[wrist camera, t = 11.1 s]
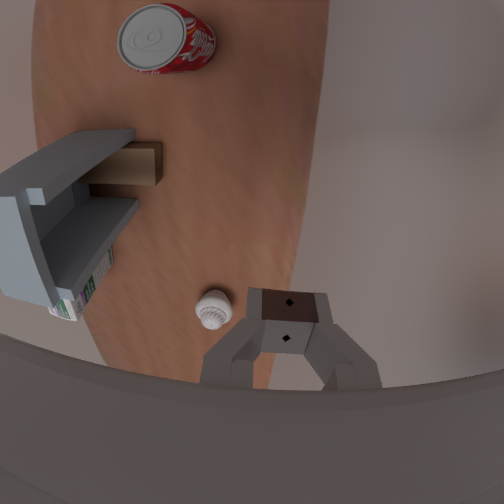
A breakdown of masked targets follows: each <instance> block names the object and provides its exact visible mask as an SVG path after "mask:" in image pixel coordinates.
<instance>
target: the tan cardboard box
mask: <svg viewBox="0 0 504 504" xmlns="http://www.w3.org/2000/svg"><path fill="white" fill-rule="evenodd" d="M162 178H163V157H162V142H129V143H128V144H126V145H124V146H123V147H121V148H120V149H118V150H117V151H116V152H114V153H113V154H111V155H110V156H108V157H107V158H105V159H104V160H103V161H101V162H100V163H98V164H97V165H96V166H94V167H93V168H92V169H90V170H89V171H87V172H86V173H85V174H83V175H82V176H81V177H80V178H79V183H87V184H125V185H148V186H156V185H157V184H158V182H159V181H160V180H161V179H162Z"/></svg>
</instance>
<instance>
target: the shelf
mask: <svg viewBox="0 0 504 504" xmlns="http://www.w3.org/2000/svg"><path fill="white" fill-rule="evenodd" d="M134 139H135V136H134V128H130V129H108V130H92V131H80V132H74V133H71V134H69V135H67V136H65V137H63V138H61V139H59V140H57V141H56V142H54V143H52V144H50V145H48V146H46V147H44V148H42V149H41V150H39V151H37V152H35V153H33V154H32V155H30V156H28V157H27V158H25V159H23V160H22V161H20V162H18V163H17V164H15V165H13V166H12V167H10V168H9V169H7V170H5V171H4V172H2V173H1V174H0V288H1V290H2V292H3V294H4V295H5V296H9V297H12V298H16V299H20V300H23V301H27V302H31V303H35V304H38V305H42V306H46V307H50V308H54V307H55V305H56V304H57V302H58V301H59V299H60V298H62V299H66V300H71V301H76V299H77V297H78V296H79V294H80V293H81V291H82V289H83V288H84V286H85V285H86V283H87V281H88V280H89V278H90V277H91V275H92V274H93V272H94V271H95V269H96V268H97V266H98V265H99V263H100V262H101V260H102V259H103V257H104V256H105V254H106V253H107V251H108V250H109V248H110V247H111V246H112V244H113V243H114V241H115V240H116V239H117V237H118V236H119V234H120V233H121V232H122V230H123V229H124V227H125V226H126V225H127V223H128V222H129V221H130V219H131V218H132V217H133V215H134V214H135V213H136V211H137V210H138V209H139V199H138V198H117V197H90V191H89V184H87V183H79V178H80V177H81V176H82V175H83V174H85V173H86V172H87V171H89V170H90V169H92V168H93V167H94V166H96V165H97V164H98V163H100V162H101V161H103V160H104V159H105V158H107V157H108V156H110V155H111V154H113V153H114V152H116V151H117V150H118V149H120V148H121V147H123V146H124V145H126V144H128V143H129V142H131V141H132V140H134Z"/></svg>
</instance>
